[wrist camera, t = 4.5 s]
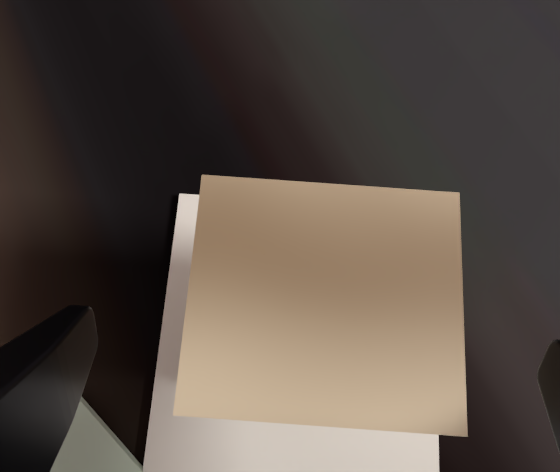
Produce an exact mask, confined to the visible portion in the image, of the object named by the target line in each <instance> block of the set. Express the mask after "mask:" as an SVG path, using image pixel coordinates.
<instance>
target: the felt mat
mask: <svg viewBox="0 0 560 472" xmlns="http://www.w3.org/2000/svg"><path fill="white" fill-rule="evenodd" d="M50 472H143V466H142V465H141V464H140V463H139V462H138V460H137V459H136V458H135V457H134V456H133V455H132V454H131V452H130V451H129V450H128V449H127V448H126V447H125V446H124V444H123V443H122V442H121V441H120V440H119V439H118V437H117V436H116V435H115V434H114V433H113V432H112V431H111V429H110V428H109V427H108V426H107V425H106V424H105V423H104V421H103V420H102V419H101V418H100V417H99V416H98V415H97V413H96V412H95V411H94V410H93V409H92V408H91V407H90V405H89V404H88V403H87V402H86V401H85V400H84V399H83V397H82V396H81V399H80V402H79V405H78V408H77V411H76V414H75V417H74V419H73V422H72V424H71V426H70V429H69V431H68V433H67V435H66V438H65V440H64V442H63V444H62V446H61V448H60V451H59V453H58V455H57V457H56V459H55V461H54V464H53V466H52V468H51V470H50Z"/></svg>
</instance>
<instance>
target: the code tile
mask: <svg viewBox="0 0 560 472" xmlns="http://www.w3.org/2000/svg"><path fill="white" fill-rule="evenodd" d="M198 203H199V195H192V194H179V200H178V208H177V215H176V223H175V230H174V238H173V245H172V253H171V261H170V268H169V276H168V283H167V291H166V298H165V306H164V313H163V321H162V328H161V336H160V343H159V351H158V358H157V366H156V373H155V381H154V388H153V396H152V403H151V411H150V418H149V426H148V433H147V441H146V448H145V456H144V463H143V472H439V435H436V434H422V433H408V432H394V431H380V430H366V429H352V428H339V427H325V426H311V425H297V424H283V423H269V422H255V421H242V420H228V419H214V418H200V417H186V416H173V409H174V401H175V393H176V384H177V376H178V368H179V360H180V351H181V343H182V335H183V327H184V318H185V310H186V302H187V294H188V285H189V277H190V269H191V261H192V252H193V244H194V236H195V227H196V219H197V211H198Z"/></svg>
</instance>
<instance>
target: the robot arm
mask: <svg viewBox="0 0 560 472" xmlns="http://www.w3.org/2000/svg"><path fill="white" fill-rule="evenodd" d="M97 347H98V335H97V329H96V324H95V318H94V313H93V310H92V308H91V307H89V306H80V305H70V306H67V307H65V308H64V309H62V310H60V311H59V312H57V313H56V314H54V315H52V316H51V317H49V318H47V319H46V320H44V321H42V322H41V323H39V324H38V325H36V326H34V327H33V328H31V329H29V330H28V331H26V332H24V333H23V334H21V335H20V336H18V337H16V338H15V339H13V340H11V341H10V342H8V343H7V344H5V345H3V346H2V347H0V472H50V470H51V468H52V466H53V464H54V461H55V459H56V457H57V455H58V453H59V451H60V448H61V446H62V444H63V442H64V440H65V438H66V435H67V433H68V431H69V429H70V426H71V424H72V422H73V419H74V417H75V414H76V411H77V408H78V405H79V402H80V399H81V396H82V393H83V390H84V387H85V384H86V381H87V378H88V375H89V372H90V369H91V366H92V363H93V360H94V357H95V354H96V351H97ZM537 379H538V384H539V388H540V391H541V394H542V397H543V401H544V404H545V407H546V411H547V414H548V417H549V421H550V424H551V427H552V431H553V434H554V437H555V441H556V444H557V447H558V450H559V453H560V340H553V341H552V342H551V343H550V344H549V346H548V348H547V351H546V353H545V355H544V357H543V359H542V362H541V364H540V366H539V368H538V373H537Z"/></svg>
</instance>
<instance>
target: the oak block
mask: <svg viewBox="0 0 560 472" xmlns="http://www.w3.org/2000/svg"><path fill="white" fill-rule="evenodd" d="M173 416H186V417H200V418H214V419H228V420H242V421H255V422H269V423H283V424H297V425H311V426H325V427H339V428H352V429H366V430H380V431H394V432H408V433H422V434H436V435H449V436H463V437H468V435H467V405H466V374H465V344H464V314H463V284H462V253H461V223H460V193H457V192H442V191H428V190H413V189H399V188H385V187H370V186H356V185H342V184H327V183H313V182H299V181H284V180H270V179H255V178H241V177H227V176H212V175H202V178H201V186H200V194H199V203H198V211H197V219H196V227H195V236H194V244H193V252H192V261H191V269H190V277H189V285H188V294H187V302H186V310H185V318H184V327H183V335H182V343H181V351H180V360H179V368H178V376H177V384H176V393H175V401H174V409H173Z"/></svg>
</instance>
